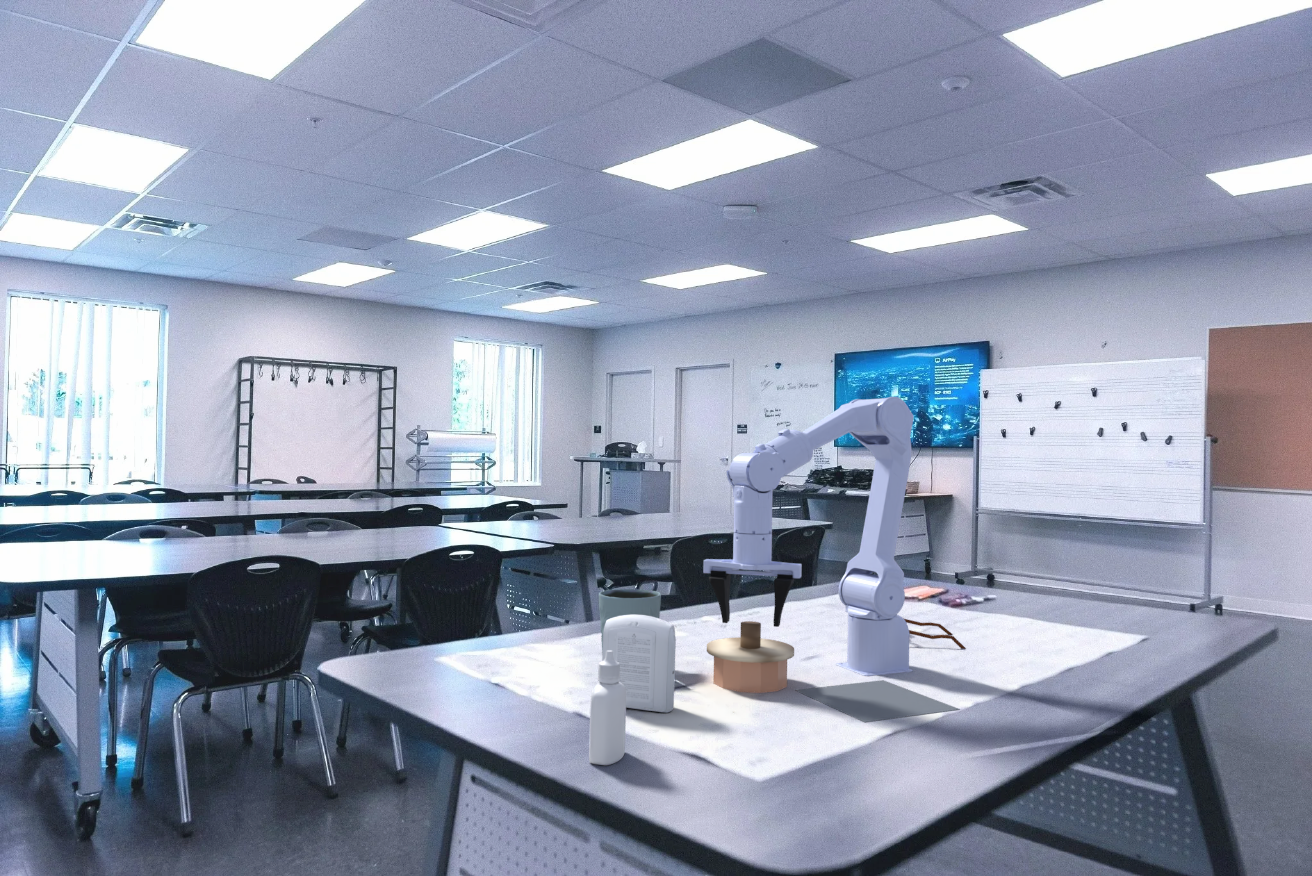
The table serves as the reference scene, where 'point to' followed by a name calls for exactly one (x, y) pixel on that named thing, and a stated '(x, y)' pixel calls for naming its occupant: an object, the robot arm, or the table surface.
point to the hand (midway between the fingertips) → (751, 623)
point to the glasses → (934, 635)
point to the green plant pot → (627, 604)
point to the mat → (876, 700)
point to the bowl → (750, 675)
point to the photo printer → (643, 659)
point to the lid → (750, 646)
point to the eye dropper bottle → (607, 714)
